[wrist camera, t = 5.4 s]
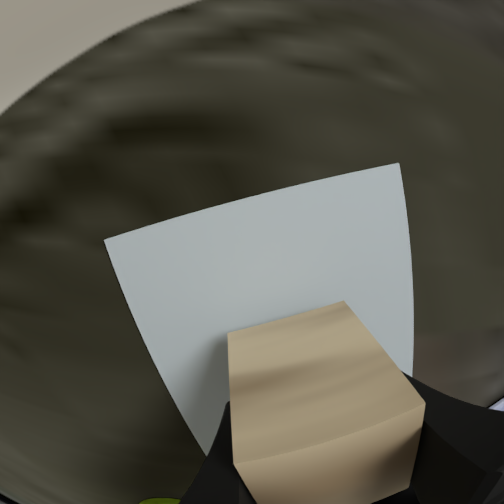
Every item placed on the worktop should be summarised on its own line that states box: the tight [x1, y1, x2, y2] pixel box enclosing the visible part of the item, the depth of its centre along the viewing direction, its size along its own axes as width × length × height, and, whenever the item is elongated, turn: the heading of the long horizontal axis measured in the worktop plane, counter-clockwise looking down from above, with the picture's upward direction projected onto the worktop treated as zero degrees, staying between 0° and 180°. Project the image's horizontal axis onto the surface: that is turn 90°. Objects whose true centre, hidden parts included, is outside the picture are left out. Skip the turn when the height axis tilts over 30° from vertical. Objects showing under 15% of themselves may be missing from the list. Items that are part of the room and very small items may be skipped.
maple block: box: [227, 300, 426, 504], centre depth 9 cm, size 4×4×6 cm
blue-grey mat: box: [104, 163, 414, 456], centre depth 13 cm, size 14×12×1 cm
